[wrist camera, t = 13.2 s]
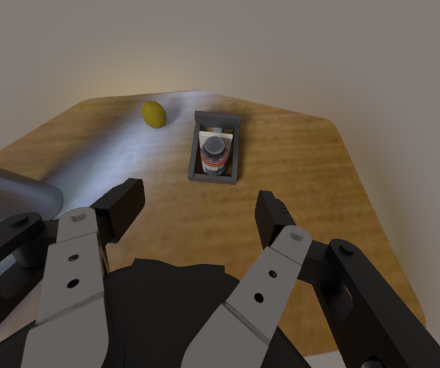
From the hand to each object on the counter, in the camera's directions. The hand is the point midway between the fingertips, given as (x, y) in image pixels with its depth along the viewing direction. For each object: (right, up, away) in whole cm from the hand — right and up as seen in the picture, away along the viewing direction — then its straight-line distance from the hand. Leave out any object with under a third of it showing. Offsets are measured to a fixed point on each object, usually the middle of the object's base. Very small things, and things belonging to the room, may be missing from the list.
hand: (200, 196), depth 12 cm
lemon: (-15, +17, +35) cm, 42 cm away
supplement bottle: (0, +5, +32) cm, 32 cm away
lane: (0, +9, +33) cm, 34 cm away
